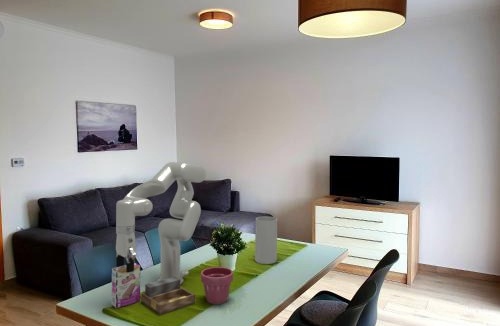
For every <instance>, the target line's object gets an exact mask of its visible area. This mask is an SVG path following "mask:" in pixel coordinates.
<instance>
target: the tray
mask: <svg viewBox="0 0 500 326" xmlns="http://www.w3.org/2000/svg"><path fill="white" fill-rule="evenodd" d="M144 287H145V288H144V289H145V292H140V297H141V303H142V304H144V305H145V306H146V307H147V308H149V309H150V310H151V311H153V312H154V313H156V314H157V315H158V316H162V315H165V314H168V313H171V312H174V311H177V310H180V309H183V308H186V307H189V306H193V305H195V304H196V294H195V293H193V292H191V291H190V290H188V289H186V288H184V287H182V286H181V284H180V279H178V278H176V277H172V278H168V279H164V280H160V281H153V282H151V283H146V284H144Z"/></svg>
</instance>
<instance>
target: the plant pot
mask: <svg viewBox="0 0 500 326" xmlns="http://www.w3.org/2000/svg"><path fill="white" fill-rule="evenodd" d="M233 271H234V270H232V269H231V268H229V267H224V266H213V267H207V268H205V269H203V270H201V273H200V282H201V283H202V284H203V289H204V295H205V298H206V301H207V302H208V303H209V304H212V305H219V304H220V305H221V304H223V303H224V304H225V303H226V302H227V301H228V297H229V294H230V293H229V292H230V290H231V289H230V288H231V283H232V282H233V281H234V272H233Z"/></svg>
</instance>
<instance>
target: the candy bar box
mask: <svg viewBox="0 0 500 326" xmlns="http://www.w3.org/2000/svg"><path fill="white" fill-rule="evenodd" d="M140 302H141V265H140V264H138V263H136V262H134V271H133V272H129V273H127V272H126V264H124V265H123V266H119V267H117V266H115V267H112V268H111V306H112V307H114V308H115V309H120V308H123V307H126V306H130V305H133V304H137V303H140Z"/></svg>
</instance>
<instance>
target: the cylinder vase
mask: <svg viewBox="0 0 500 326" xmlns="http://www.w3.org/2000/svg"><path fill="white" fill-rule="evenodd" d="M254 238H255V243H254V246H255V247H254V258H255V259H254V260H255V262H256V263H257V264H262V265H271V264H275V263H277V259H278V257H277V256H278V255H277V253H278V218H277V217H276V216H275V217H274V216H265V215H264V216H258V217H255V237H254Z"/></svg>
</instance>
